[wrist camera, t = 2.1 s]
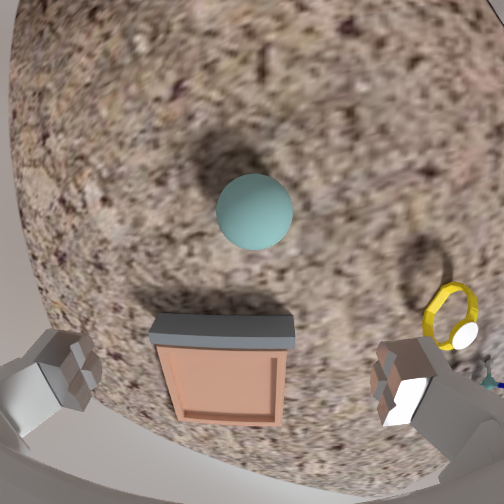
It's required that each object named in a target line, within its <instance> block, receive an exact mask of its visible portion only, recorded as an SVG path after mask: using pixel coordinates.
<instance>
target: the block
mask: <svg viewBox="0 0 504 504" xmlns="http://www.w3.org/2000/svg"><path fill="white" fill-rule="evenodd" d="M148 333H149V337H150V341H151V344H162V345H176V346H192V347H212V348H246V349H294V348H295V329H294V319H293V315H286V316H249V315H200V314H174V313H158V315H157V317H156V319H155V321H154V323H153V325H152V327H151V329H150V330H149V332H148Z"/></svg>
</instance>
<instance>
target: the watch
mask: <svg viewBox="0 0 504 504" xmlns="http://www.w3.org/2000/svg"><path fill="white" fill-rule="evenodd" d="M440 288H441V289H440V290H439V291H438V293H437V294H436V296H435V297H434V298H433V300H432V301H431V303H430V304H429V305H428V307H427V308H426V309H425V311H424V316H423V320H422V329H423V335H424V336H430V337H432V338H433V340H434V341H435V343H436V344H437V346H438V347H439V349H443V350H451V349H463V348H465V347H467V346H468V345H470V344H471V343H472V342H473V341H474V339H475V337H476V336H477V333H478V326H477V324H476V320H477V317H478V311H479V310H478V301H477V298H476V295H475V294H474V293H473V291H472V290H471V289H470V288H468V287H467V286H465V285H464V284H462V283H458V282H454V281H453V282H450V283H447V284H445V285H443V286H442V287H440ZM458 290H462V291H464V292H465V294H466V295H467V302H468V311H467V314H466V318H465V319H463V320H461V321H460V322H458V323H457V324H456V325H455V326H454V327H453V329H452V330H451V332H450V335H449V340H447V341H445V342H443V343H438V342H437V340H436V339H435V338H434V333H433V321H434V317H435V314H436V312H437V311H438V310H439V308H440V307H441V306H442V304H443V303H444V301H445V300H446V299H447V297H448V296H449V295H450V293H453V292H455V291H458Z"/></svg>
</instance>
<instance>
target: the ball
mask: <svg viewBox="0 0 504 504" xmlns="http://www.w3.org/2000/svg"><path fill="white" fill-rule="evenodd" d="M292 216H293V208H292V202H291V199H290V197H289V195H288V193H287V191H286V190H285V188H284V187H283V186H282V185H281V184H280V183H279V182H278V181H276V180H275V179H273V178H271V177H269V176H266V175H262V174H247V175H243V176H240V177H238V178H236V179H234V180H233V181H231V182H230V183H229V184H228V185H227V186H226V187H225V188H224V189H223V191H222V192H221V194H220V196H219V199H218V202H217V207H216V217H217V222H218V225H219V228H220V230H221V231H222V233H223V234H224V236H225V237H226V238H227V239H228V240H229V241H230V242H232V243H233V244H235V245H236V246H238V247H241V248H244V249H248V250H261V249H265V248H268V247H270V246H273V245H274V244H276V243H277V242H278V241H280V240H281V239H282V238H283V237H284V236H285V234H286V233H287V231H288V229H289V227H290V225H291V221H292Z"/></svg>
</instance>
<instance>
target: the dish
mask: <svg viewBox="0 0 504 504" xmlns="http://www.w3.org/2000/svg"><path fill="white" fill-rule="evenodd" d="M156 348H157V351H158V355H159V359H160V362H161V366H162V369H163V373H164V376H165V380H166V383H167V386H168V389H169V393H170V396H171V399H172V402H173V405H174V408H175V411H176V414H177V417H178V420H179V421H186V422H195V423H207V424H220V425H239V426H282V414H283V400H284V386H285V370H286V352H287V350H286V349H246V348H212V347H192V346H176V345H162V344H157V346H156Z"/></svg>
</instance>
